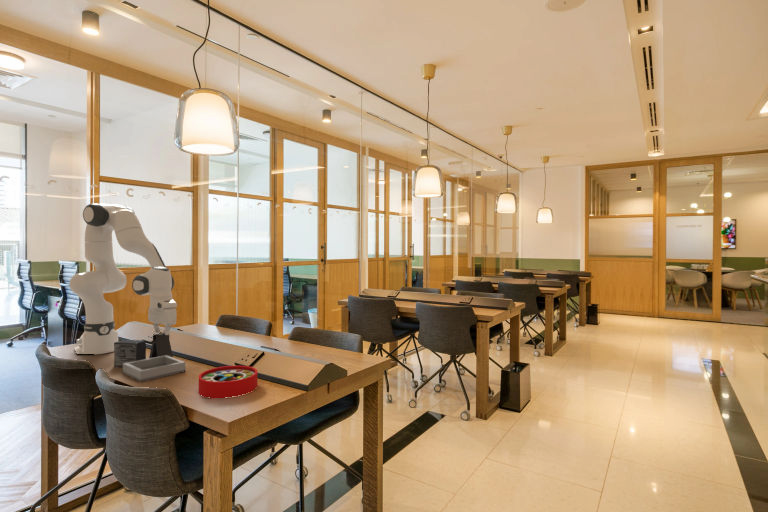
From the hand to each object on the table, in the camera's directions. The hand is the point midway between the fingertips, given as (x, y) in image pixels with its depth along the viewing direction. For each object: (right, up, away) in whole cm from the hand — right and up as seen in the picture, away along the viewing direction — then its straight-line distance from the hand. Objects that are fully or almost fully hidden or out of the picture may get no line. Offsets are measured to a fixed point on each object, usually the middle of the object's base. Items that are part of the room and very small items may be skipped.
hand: (161, 333), depth 187 cm
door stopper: (-1, -12, 0) cm, 12 cm away
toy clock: (+43, -14, -36) cm, 58 cm away
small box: (-9, -12, -8) cm, 17 cm away
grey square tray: (+6, -13, -18) cm, 23 cm away
